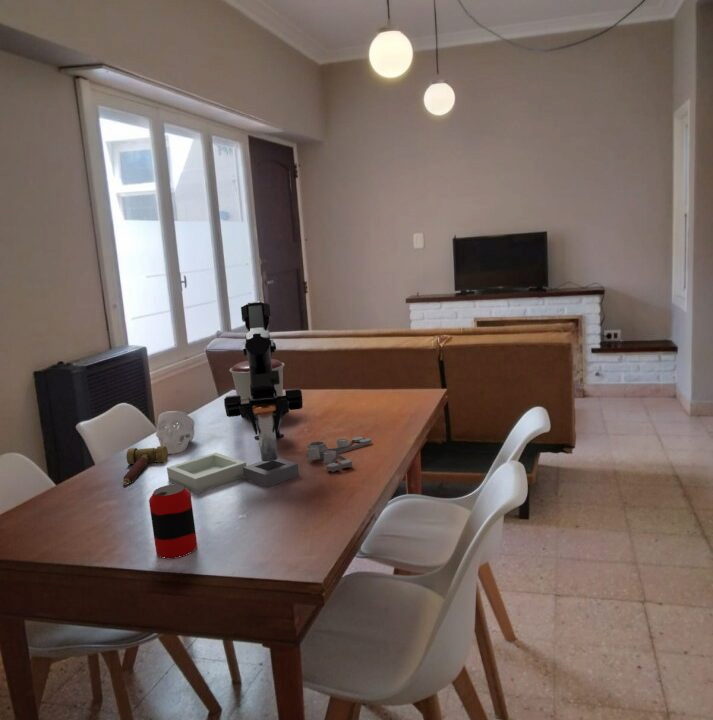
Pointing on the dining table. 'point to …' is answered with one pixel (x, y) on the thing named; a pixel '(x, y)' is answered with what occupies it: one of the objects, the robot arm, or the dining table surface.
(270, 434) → the pin
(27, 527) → the dining table surface
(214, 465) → the tray
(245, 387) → the canister
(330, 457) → the pulley system
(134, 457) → the gavel
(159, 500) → the soda can
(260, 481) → the pin socket
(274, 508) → the dining table surface
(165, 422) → the skull bowl
